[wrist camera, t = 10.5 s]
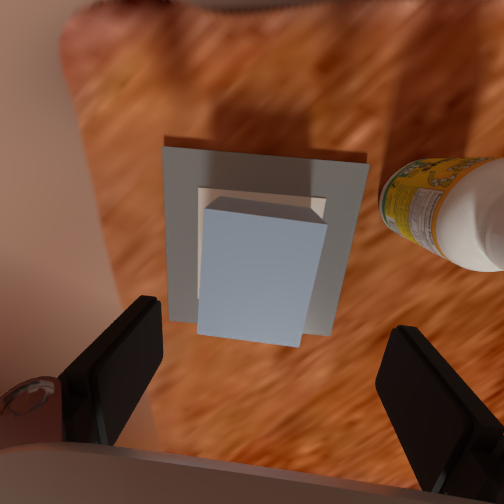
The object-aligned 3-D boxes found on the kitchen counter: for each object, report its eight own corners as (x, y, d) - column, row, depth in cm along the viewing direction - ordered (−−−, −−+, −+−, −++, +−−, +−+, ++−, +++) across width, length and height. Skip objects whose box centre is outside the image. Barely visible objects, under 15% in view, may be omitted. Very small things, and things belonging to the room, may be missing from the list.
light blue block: (310, 207, 18) (327, 224, 13) (290, 304, 20) (299, 347, 16) (219, 195, 18) (204, 208, 13) (212, 294, 20) (196, 334, 16)
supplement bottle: (371, 233, 19) (469, 300, 10) (383, 158, 17) (519, 154, 8) (444, 234, 19) (614, 303, 10) (465, 157, 17) (700, 153, 8)
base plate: (366, 163, 17) (370, 164, 16) (328, 331, 22) (330, 336, 21) (165, 146, 17) (161, 146, 17) (171, 316, 22) (168, 321, 21)
